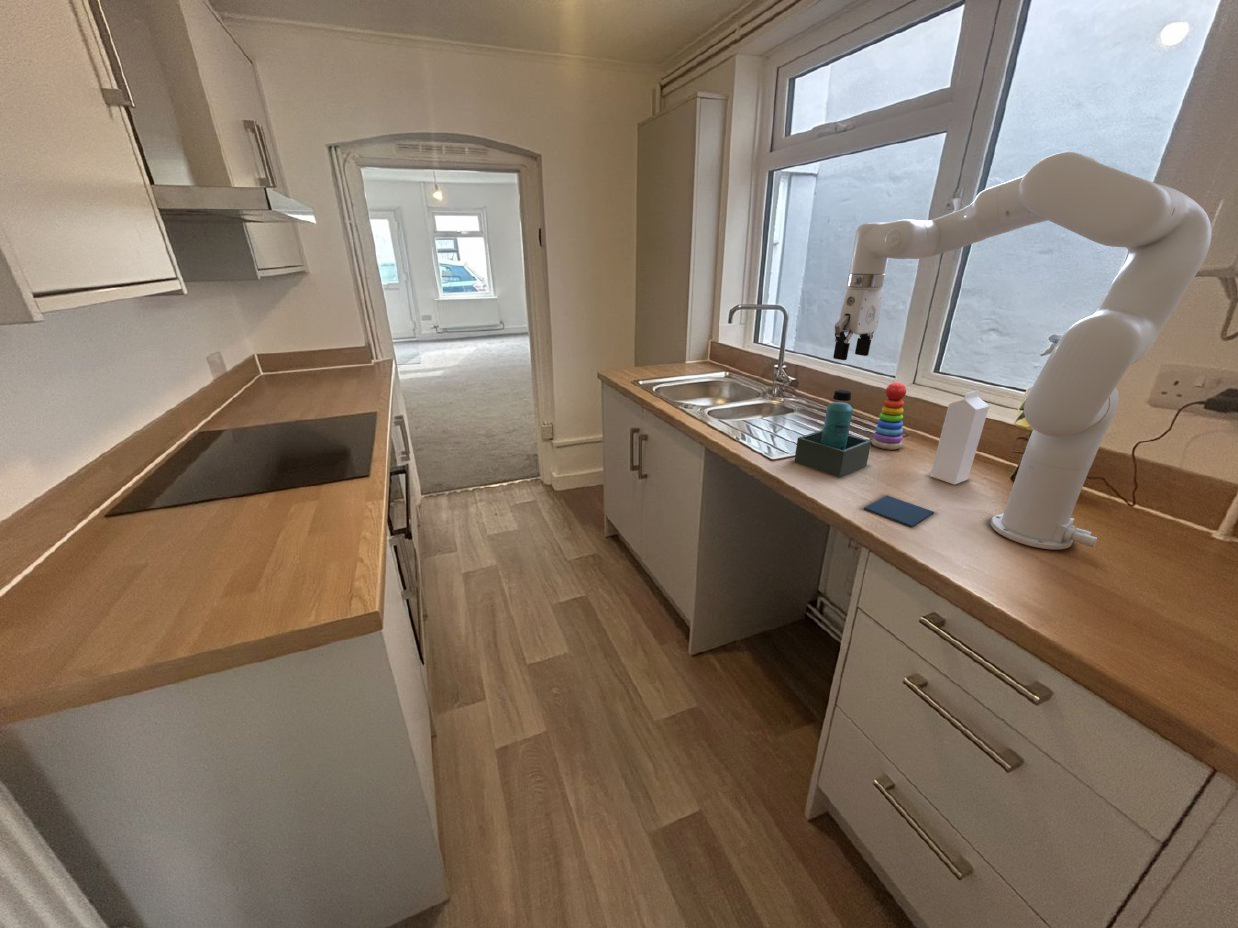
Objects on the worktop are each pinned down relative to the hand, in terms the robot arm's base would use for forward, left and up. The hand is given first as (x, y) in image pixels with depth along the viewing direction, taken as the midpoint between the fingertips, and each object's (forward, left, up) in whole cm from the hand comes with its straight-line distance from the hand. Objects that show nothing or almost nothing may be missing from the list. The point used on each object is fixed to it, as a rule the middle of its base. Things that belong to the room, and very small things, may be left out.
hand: (850, 357), depth 118 cm
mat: (-23, +13, -29) cm, 39 cm away
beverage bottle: (+1, 0, -29) cm, 29 cm away
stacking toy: (-1, -26, -29) cm, 39 cm away
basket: (+1, 0, -29) cm, 29 cm away
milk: (-22, -15, -29) cm, 39 cm away
